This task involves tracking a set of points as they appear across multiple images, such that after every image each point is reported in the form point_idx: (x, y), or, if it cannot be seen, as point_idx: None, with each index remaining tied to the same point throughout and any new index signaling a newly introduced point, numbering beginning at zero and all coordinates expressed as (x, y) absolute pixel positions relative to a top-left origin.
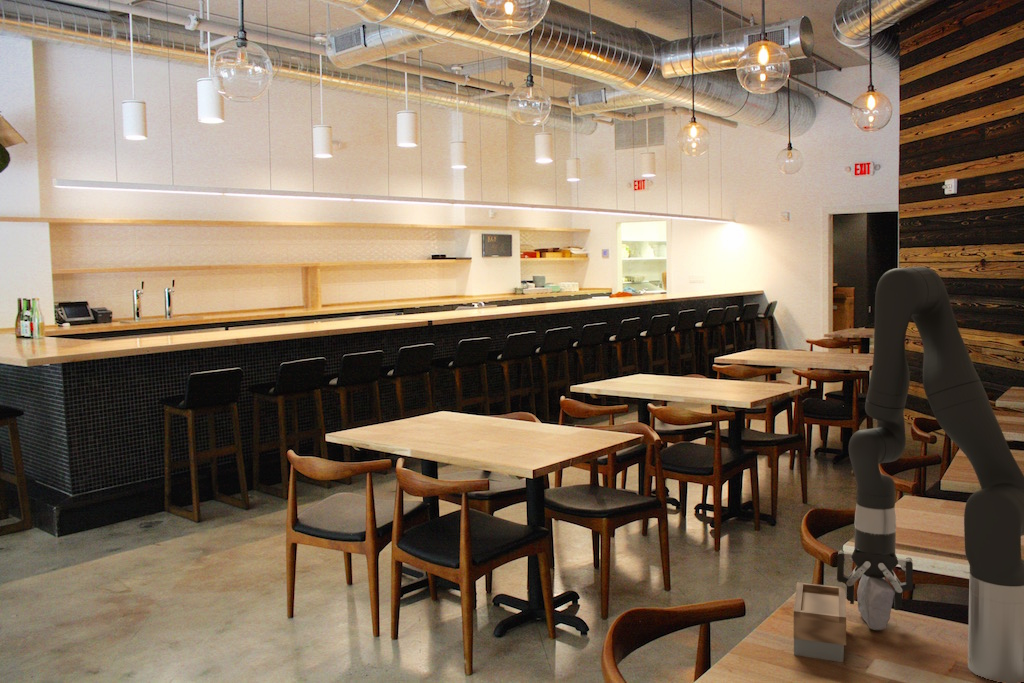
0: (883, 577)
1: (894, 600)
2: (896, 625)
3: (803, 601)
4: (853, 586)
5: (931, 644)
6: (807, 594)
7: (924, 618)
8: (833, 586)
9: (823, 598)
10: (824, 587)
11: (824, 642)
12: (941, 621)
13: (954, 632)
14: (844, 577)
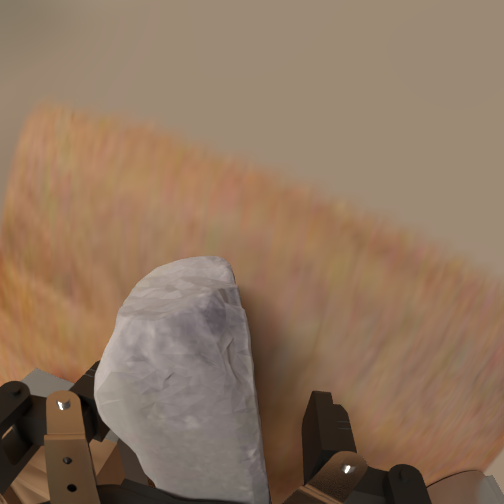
0: (251, 483)
1: (313, 416)
2: (314, 354)
3: (20, 498)
4: (97, 434)
5: (375, 449)
6: None
7: (436, 263)
8: (40, 491)
9: (46, 500)
10: (21, 481)
11: None
12: (478, 278)
13: (476, 357)
14: (38, 442)
